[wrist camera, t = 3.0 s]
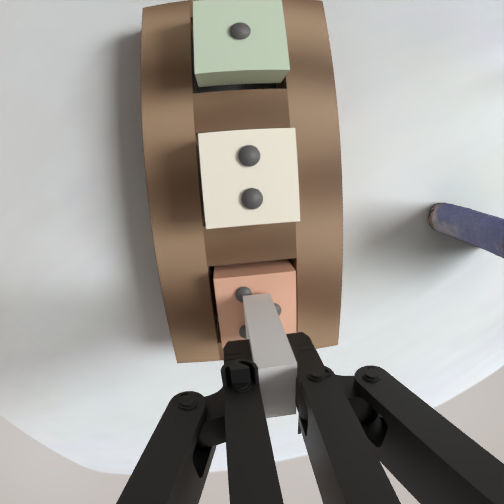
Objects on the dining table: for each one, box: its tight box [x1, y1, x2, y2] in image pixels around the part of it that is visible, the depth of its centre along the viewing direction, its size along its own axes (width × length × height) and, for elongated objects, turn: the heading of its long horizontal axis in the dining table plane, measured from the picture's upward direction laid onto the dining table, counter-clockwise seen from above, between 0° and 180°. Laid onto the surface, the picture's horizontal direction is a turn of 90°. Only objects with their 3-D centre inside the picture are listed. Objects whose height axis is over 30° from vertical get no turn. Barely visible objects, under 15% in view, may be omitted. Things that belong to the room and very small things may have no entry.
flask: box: [429, 203, 504, 258], centre depth 16 cm, size 9×3×11 cm, turn 76°
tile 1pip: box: [193, 0, 290, 87], centre depth 13 cm, size 4×4×3 cm
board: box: [141, 0, 343, 363], centre depth 17 cm, size 23×11×3 cm, turn 4°
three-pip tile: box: [213, 259, 296, 348], centre depth 18 cm, size 4×4×3 cm
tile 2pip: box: [198, 128, 300, 229], centre depth 15 cm, size 4×4×3 cm
